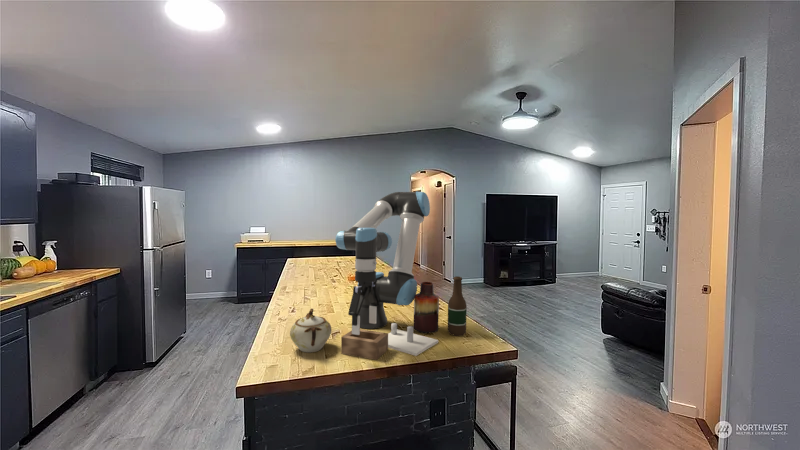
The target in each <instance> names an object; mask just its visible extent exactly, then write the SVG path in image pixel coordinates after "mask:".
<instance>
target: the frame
mask: <svg viewBox="0 0 800 450" xmlns="http://www.w3.org/2000/svg"><path fill="white" fill-rule="evenodd" d="M388 333H389V332H381V331H376V330H375V331H374V330H369V329H363V328H360V335H355V334H352V330H350V331H349V332H347V333H345V334H344V335H342V336H341V341H340V342H341V343H340V344H341V345H340V346H341V347H340V349H341V353H340V354H343V355H347V356H353V357H359V358H365V359H369V360H373V361H374V360H376V361H377V360H378V359H379V358H381V357H382V356H383V355H384V354H385V353H386V352H387V351H388V350H389V348H388Z"/></svg>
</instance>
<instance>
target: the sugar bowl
mask: <svg viewBox="0 0 800 450" xmlns="http://www.w3.org/2000/svg"><path fill="white" fill-rule="evenodd" d="M331 334H332V325H331V323H330V322H329V321H328V320H327V319H326V318H325V317H323V316H318V315H314V308H310V309H309V312H308V313H306V315H305V316H304V317H302V318H301V317H300V318H298V319H297V320H295V322H294V323H293V324H292V325H291V327H290V330H289V337H290V339H291V340H292V342H293V343H294V345H295V346H296V347H297V348H298V350H299V351H300V352H302V353H303V352H304V353H316V352H319V351H320V350H322V349H323V348H324V346H325V345H326V343H327V341H328V340H329V338H330V336H331Z"/></svg>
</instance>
